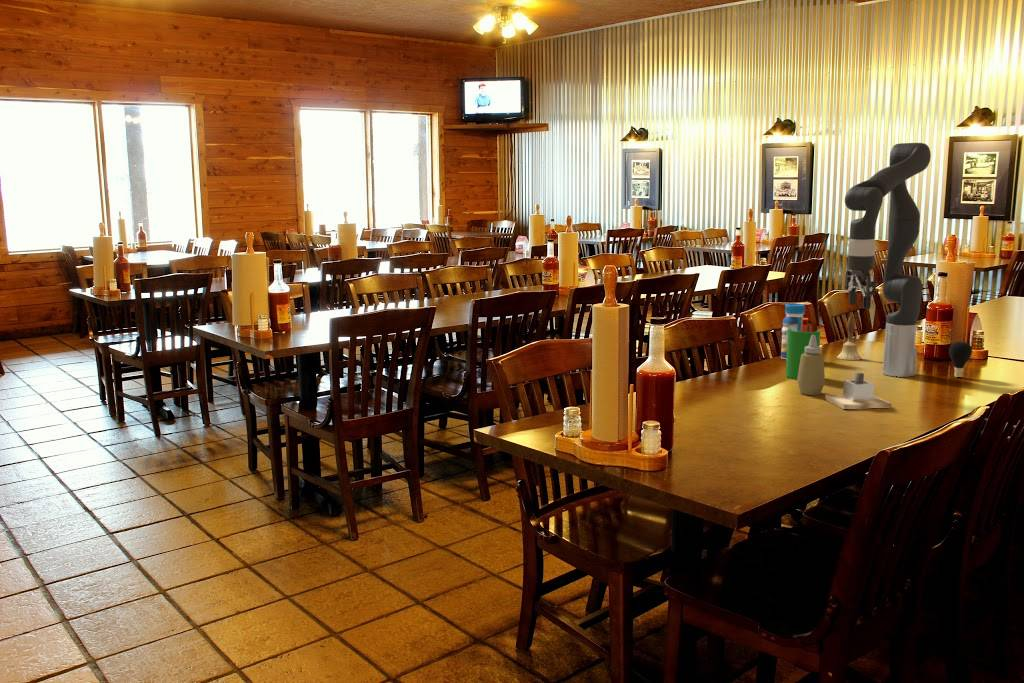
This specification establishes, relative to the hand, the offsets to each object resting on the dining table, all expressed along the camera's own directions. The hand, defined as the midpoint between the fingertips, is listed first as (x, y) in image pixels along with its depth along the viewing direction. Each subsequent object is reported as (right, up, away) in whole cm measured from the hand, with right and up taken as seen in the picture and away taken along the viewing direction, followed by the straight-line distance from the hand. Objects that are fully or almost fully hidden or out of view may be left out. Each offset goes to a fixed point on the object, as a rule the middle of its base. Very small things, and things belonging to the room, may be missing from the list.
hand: (859, 306), depth 272 cm
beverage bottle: (-5, -17, +49) cm, 52 cm away
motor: (-11, -23, +20) cm, 32 cm away
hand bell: (+16, -17, +50) cm, 56 cm away
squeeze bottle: (-16, -27, -2) cm, 31 cm away
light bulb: (+39, -23, +18) cm, 49 cm away
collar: (-6, -27, -15) cm, 32 cm away
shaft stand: (-6, -29, -15) cm, 33 cm away
